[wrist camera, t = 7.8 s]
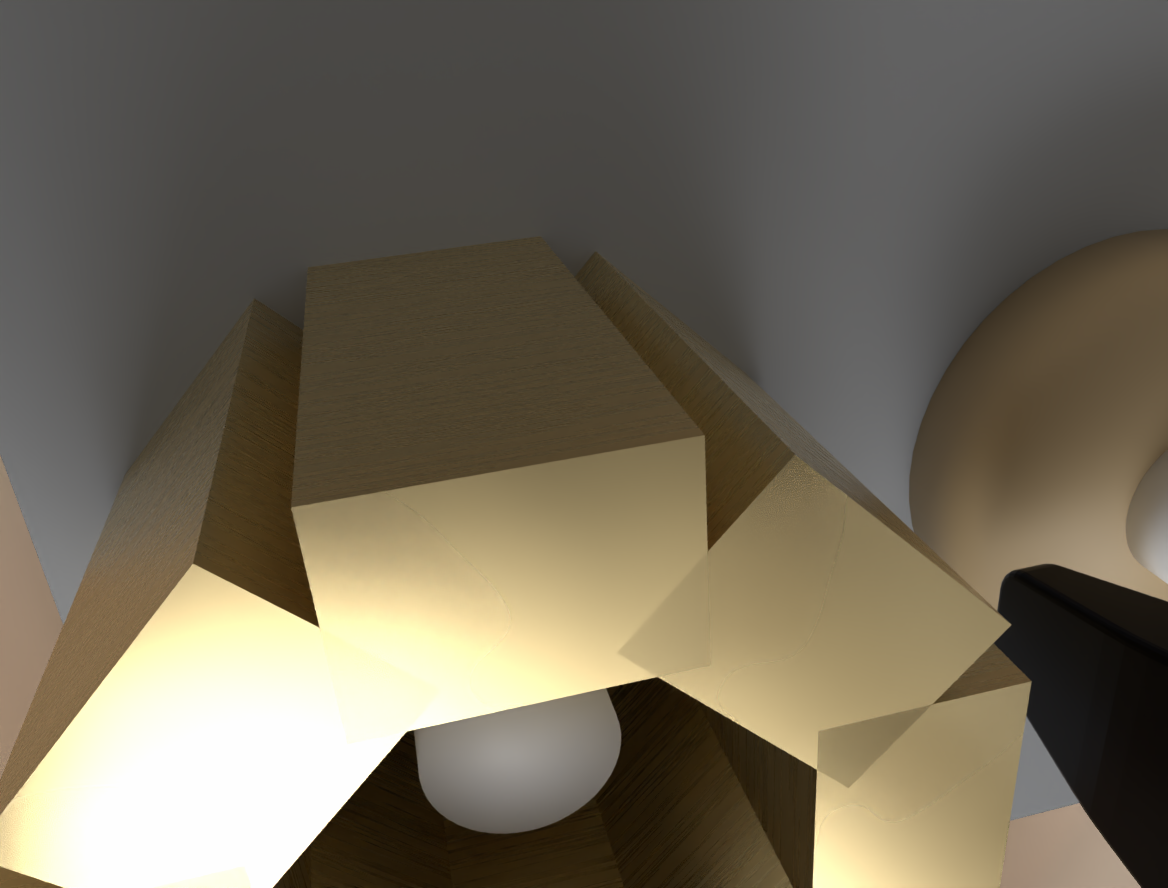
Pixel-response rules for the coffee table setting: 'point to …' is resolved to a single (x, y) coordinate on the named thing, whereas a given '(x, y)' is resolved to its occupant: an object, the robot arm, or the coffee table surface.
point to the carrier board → (624, 252)
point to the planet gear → (506, 614)
